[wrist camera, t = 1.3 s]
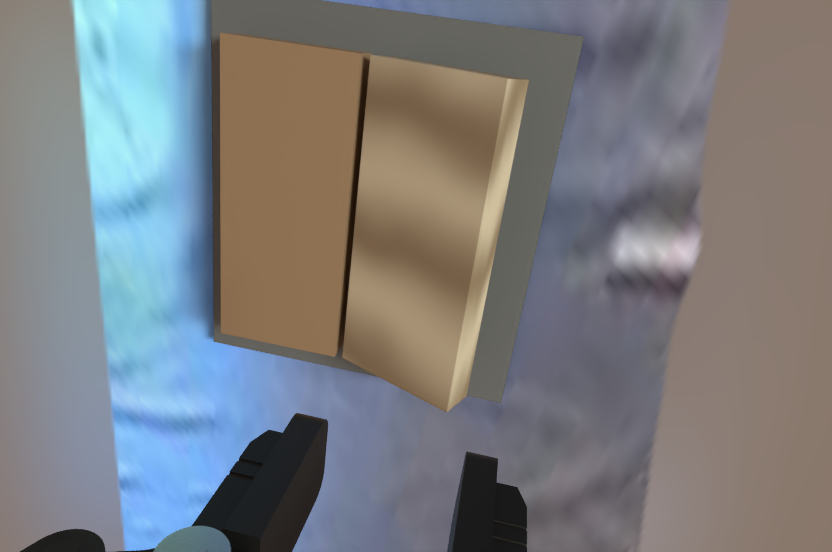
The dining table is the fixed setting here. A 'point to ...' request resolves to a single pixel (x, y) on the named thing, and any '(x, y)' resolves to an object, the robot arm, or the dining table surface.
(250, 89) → the floor section
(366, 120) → the oak plank
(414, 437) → the dining table surface
